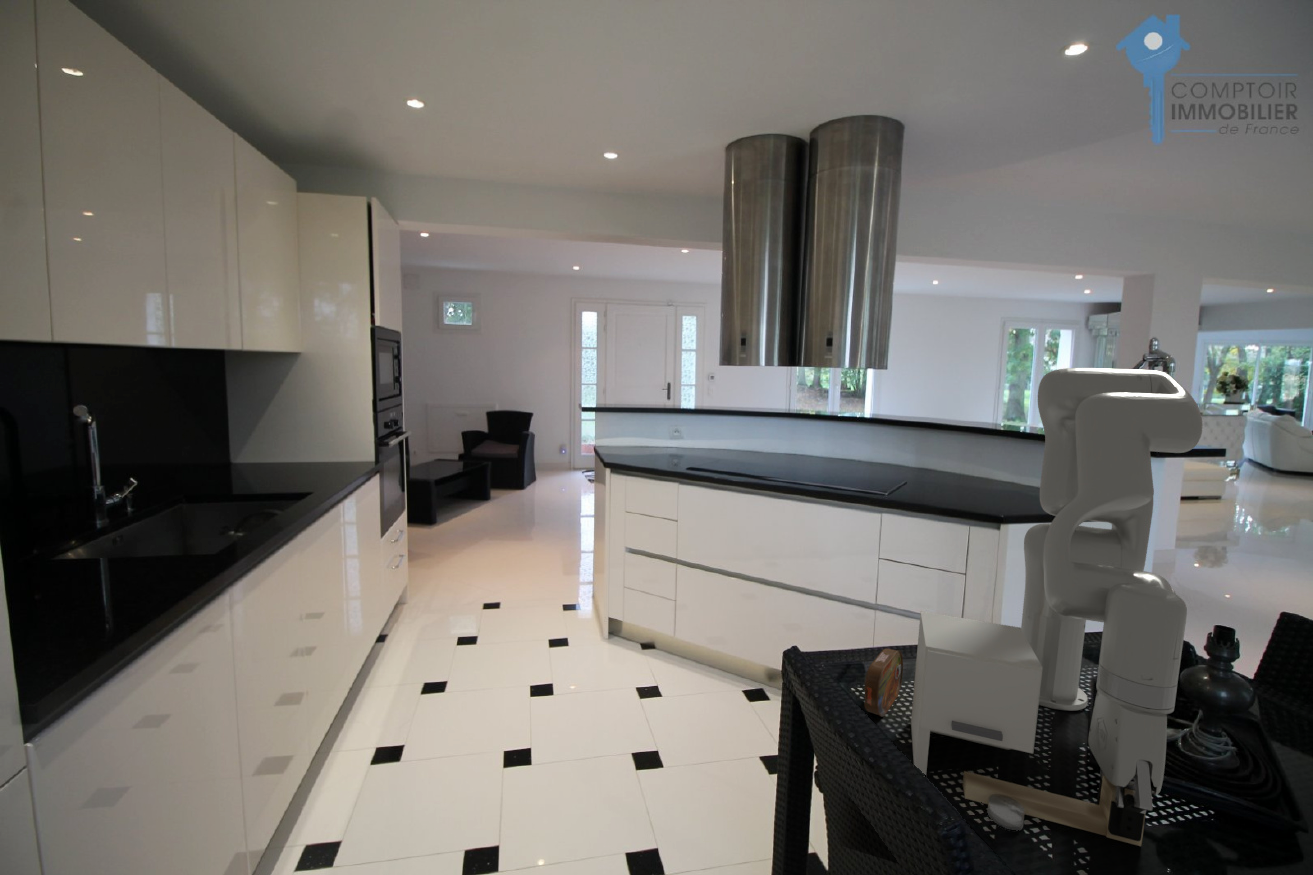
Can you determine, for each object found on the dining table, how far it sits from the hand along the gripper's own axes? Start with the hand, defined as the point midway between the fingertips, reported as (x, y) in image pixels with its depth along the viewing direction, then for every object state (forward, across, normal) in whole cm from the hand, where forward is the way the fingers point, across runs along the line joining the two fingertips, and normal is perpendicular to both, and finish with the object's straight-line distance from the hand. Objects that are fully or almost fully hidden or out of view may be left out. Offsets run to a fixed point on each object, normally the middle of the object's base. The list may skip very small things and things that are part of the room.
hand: (1117, 823), depth 74 cm
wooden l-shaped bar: (+1, 0, -8) cm, 8 cm away
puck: (+1, +4, -13) cm, 13 cm away
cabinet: (+1, -8, -16) cm, 18 cm away
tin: (+2, -20, -28) cm, 34 cm away
